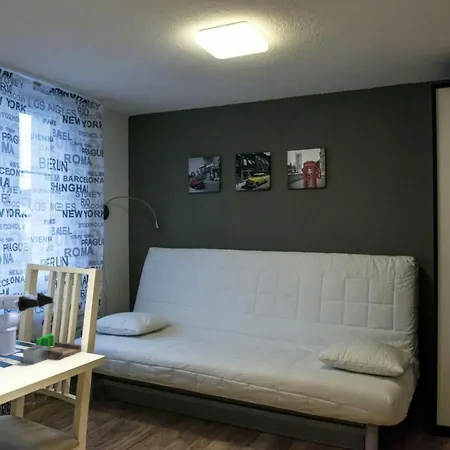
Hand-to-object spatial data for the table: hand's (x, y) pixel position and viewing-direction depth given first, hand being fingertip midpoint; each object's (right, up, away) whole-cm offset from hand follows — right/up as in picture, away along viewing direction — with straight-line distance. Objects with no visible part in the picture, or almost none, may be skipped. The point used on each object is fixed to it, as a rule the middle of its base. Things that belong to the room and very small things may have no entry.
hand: (45, 301), depth 183 cm
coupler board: (+2, -22, +8) cm, 23 cm away
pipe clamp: (-6, -22, +17) cm, 28 cm away
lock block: (-3, -22, -3) cm, 22 cm away
